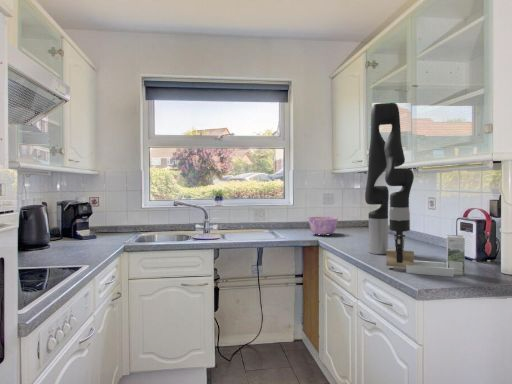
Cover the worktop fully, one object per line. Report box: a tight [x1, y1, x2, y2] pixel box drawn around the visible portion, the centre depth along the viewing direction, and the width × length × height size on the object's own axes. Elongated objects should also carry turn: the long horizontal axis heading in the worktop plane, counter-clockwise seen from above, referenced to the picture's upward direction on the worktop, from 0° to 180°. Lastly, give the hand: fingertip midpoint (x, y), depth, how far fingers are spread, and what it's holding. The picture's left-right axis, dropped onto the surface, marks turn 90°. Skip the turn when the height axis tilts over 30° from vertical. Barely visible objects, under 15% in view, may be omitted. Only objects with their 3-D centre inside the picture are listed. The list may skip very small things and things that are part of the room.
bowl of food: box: [307, 216, 339, 235], centre depth 245 cm, size 20×20×12 cm
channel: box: [392, 260, 455, 278], centre depth 141 cm, size 11×21×3 cm, turn 66°
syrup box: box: [446, 234, 466, 276], centre depth 137 cm, size 6×6×14 cm
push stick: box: [385, 249, 415, 267], centre depth 144 cm, size 3×10×6 cm, turn 66°
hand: (399, 261), depth 144 cm, fingers closed on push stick, 2 cm apart
